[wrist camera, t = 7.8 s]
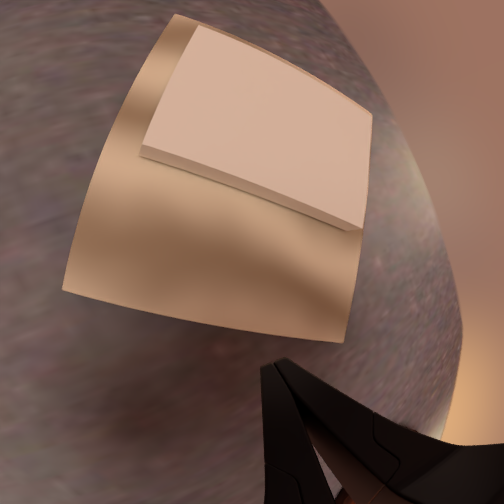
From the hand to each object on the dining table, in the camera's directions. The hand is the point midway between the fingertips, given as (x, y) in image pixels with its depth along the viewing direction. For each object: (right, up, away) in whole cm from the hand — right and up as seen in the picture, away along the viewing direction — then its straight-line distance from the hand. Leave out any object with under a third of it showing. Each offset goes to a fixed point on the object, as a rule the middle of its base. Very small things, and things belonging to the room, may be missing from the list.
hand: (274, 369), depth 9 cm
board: (0, +9, +10) cm, 13 cm away
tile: (0, +7, +8) cm, 10 cm away
